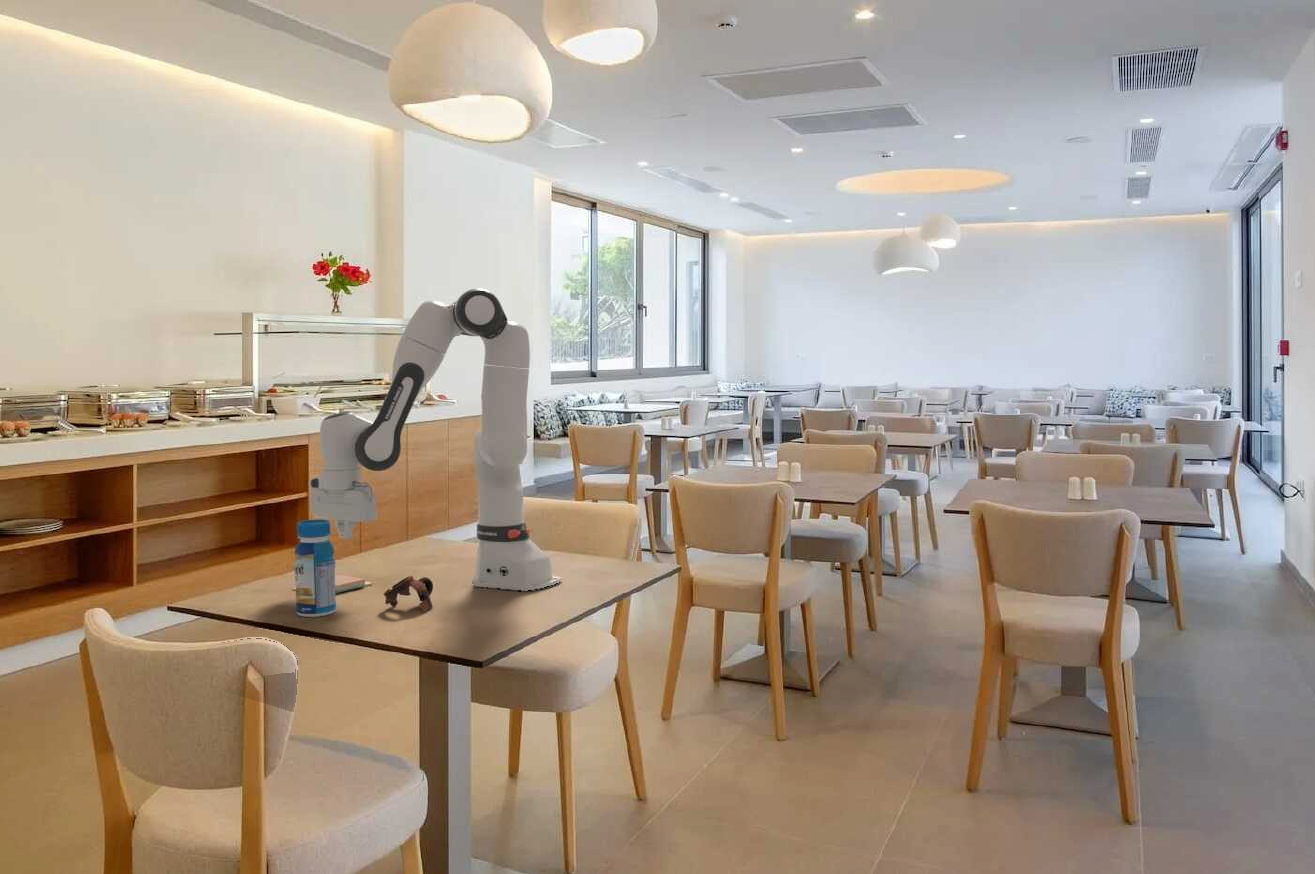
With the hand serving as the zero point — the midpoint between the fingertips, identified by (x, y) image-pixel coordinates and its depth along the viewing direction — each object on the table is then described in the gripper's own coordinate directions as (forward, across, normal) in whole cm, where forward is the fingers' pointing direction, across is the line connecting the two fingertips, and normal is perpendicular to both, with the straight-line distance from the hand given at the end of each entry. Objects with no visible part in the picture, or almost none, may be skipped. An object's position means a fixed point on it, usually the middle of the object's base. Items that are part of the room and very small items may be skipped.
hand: (345, 538), depth 236 cm
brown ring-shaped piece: (+13, -27, +4) cm, 30 cm away
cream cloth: (+12, +5, +1) cm, 13 cm away
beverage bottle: (+12, -12, +19) cm, 26 cm away
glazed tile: (+11, -2, +1) cm, 11 cm away
